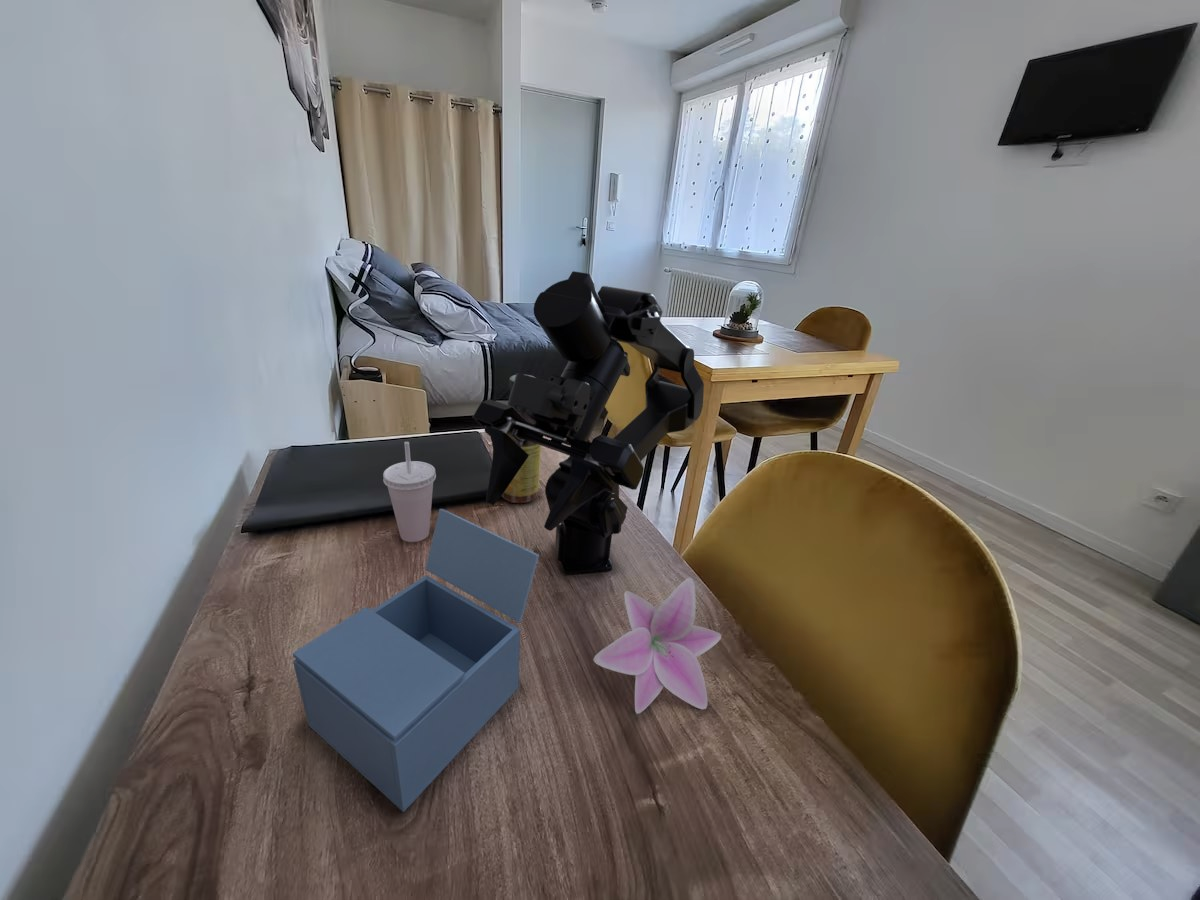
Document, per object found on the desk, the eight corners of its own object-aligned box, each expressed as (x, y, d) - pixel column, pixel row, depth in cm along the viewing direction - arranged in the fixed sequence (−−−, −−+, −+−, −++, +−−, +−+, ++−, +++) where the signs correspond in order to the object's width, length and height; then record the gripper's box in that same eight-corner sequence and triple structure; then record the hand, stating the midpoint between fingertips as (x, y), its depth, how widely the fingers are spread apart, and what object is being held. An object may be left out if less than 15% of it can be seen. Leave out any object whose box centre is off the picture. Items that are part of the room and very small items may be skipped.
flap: (424, 569, 48) (428, 568, 48) (518, 623, 42) (521, 621, 43) (439, 508, 47) (442, 508, 47) (536, 555, 42) (539, 554, 42)
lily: (569, 695, 47) (598, 672, 40) (605, 587, 55) (634, 552, 47) (681, 744, 47) (730, 730, 40) (701, 630, 55) (745, 601, 48)
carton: (430, 631, 51) (425, 568, 48) (518, 688, 46) (520, 621, 42) (307, 725, 41) (290, 653, 37) (403, 812, 36) (393, 738, 32)
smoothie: (387, 550, 63) (375, 452, 57) (392, 523, 68) (382, 431, 62) (439, 545, 64) (433, 450, 59) (439, 519, 70) (434, 430, 64)
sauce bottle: (497, 487, 80) (497, 370, 72) (534, 485, 82) (539, 370, 74) (502, 508, 74) (503, 383, 66) (542, 505, 76) (548, 383, 68)
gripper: (483, 324, 50) (401, 456, 45) (645, 361, 41) (563, 526, 37) (530, 382, 59) (466, 495, 55) (669, 421, 51) (606, 558, 47)
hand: (517, 515), depth 48 cm, fingers open, 7 cm apart
